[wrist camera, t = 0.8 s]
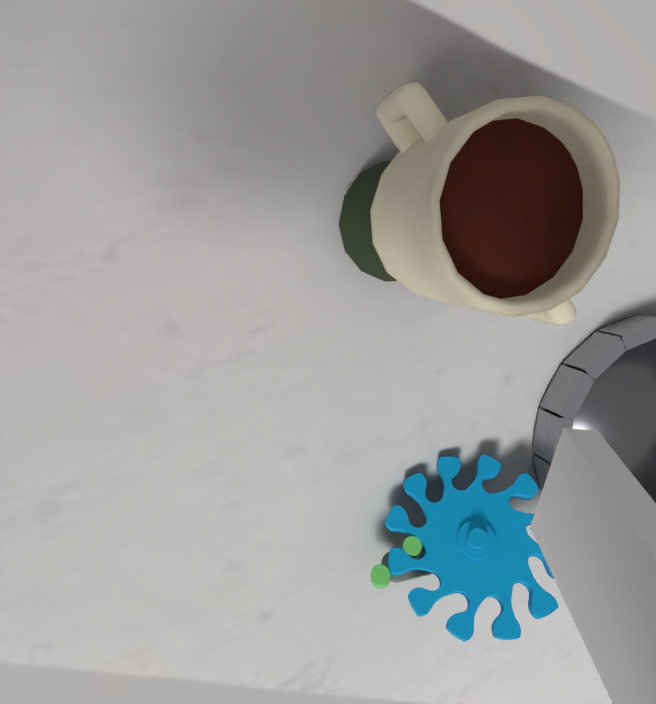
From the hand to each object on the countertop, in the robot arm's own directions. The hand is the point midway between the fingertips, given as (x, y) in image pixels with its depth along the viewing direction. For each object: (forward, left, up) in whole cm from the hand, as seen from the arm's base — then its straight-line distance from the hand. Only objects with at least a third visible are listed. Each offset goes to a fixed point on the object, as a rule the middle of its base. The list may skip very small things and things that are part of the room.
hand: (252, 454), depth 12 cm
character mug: (+2, +11, -18) cm, 21 cm away
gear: (+18, +2, -18) cm, 26 cm away
